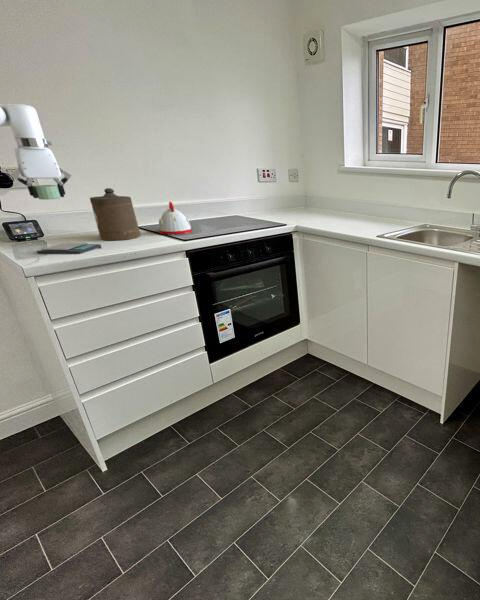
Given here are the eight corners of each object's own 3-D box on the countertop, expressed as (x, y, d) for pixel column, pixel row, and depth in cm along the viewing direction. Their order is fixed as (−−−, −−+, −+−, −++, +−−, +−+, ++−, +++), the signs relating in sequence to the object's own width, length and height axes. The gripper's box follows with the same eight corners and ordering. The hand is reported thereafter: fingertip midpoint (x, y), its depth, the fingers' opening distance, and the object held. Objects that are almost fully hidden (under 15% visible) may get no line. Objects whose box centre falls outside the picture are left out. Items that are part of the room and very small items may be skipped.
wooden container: (115, 234, 170) (102, 186, 162) (147, 234, 171) (136, 187, 163) (92, 240, 156) (77, 189, 148) (127, 241, 157) (114, 190, 149)
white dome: (162, 235, 170) (155, 204, 164) (158, 231, 179) (151, 201, 174) (194, 233, 178) (188, 202, 172) (189, 229, 188) (183, 200, 182)
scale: (38, 257, 128) (36, 249, 127) (63, 249, 139) (61, 242, 138) (81, 257, 130) (78, 249, 129) (102, 250, 141) (100, 242, 140)
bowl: (32, 199, 125) (27, 186, 124) (46, 197, 131) (42, 184, 130) (52, 199, 126) (48, 186, 124) (66, 198, 132) (62, 185, 130)
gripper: (62, 145, 130) (76, 195, 137) (-7, 142, 118) (13, 197, 124) (67, 145, 126) (82, 196, 133) (-3, 142, 113) (17, 199, 120)
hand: (49, 196), depth 128 cm, fingers closed on bowl, 6 cm apart
